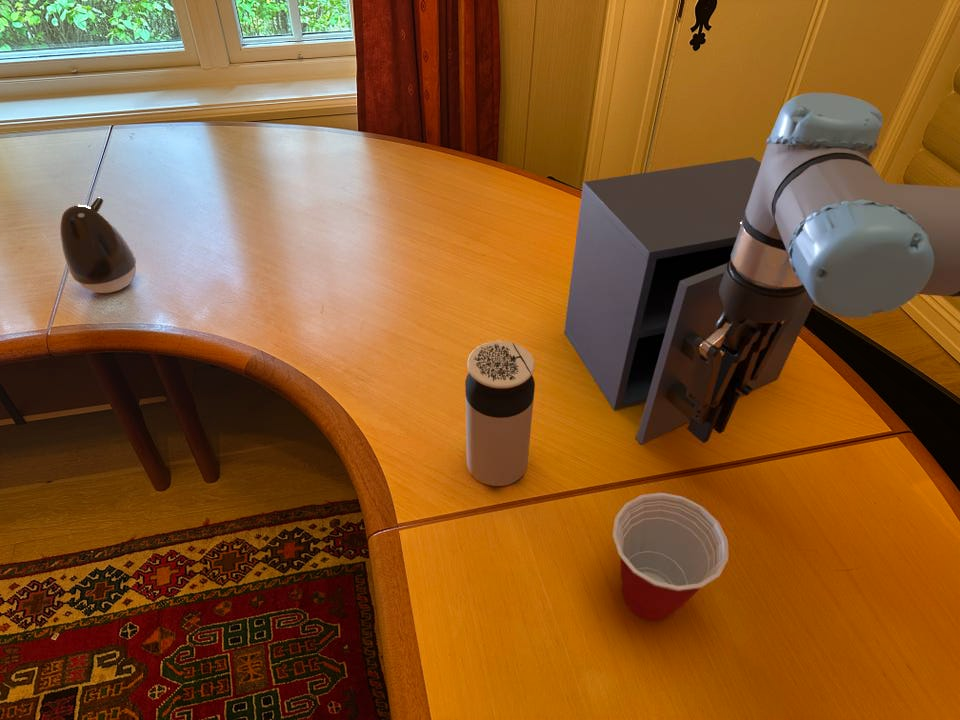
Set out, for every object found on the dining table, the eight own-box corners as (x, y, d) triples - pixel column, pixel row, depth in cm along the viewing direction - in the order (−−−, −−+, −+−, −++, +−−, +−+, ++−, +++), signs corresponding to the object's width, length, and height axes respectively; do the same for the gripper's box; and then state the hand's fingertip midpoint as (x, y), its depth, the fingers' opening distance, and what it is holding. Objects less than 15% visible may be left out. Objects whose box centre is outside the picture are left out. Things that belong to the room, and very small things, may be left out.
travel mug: (472, 492, 76) (472, 392, 64) (461, 443, 82) (459, 343, 69) (534, 482, 77) (545, 382, 65) (519, 435, 83) (526, 334, 70)
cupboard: (771, 372, 92) (842, 217, 74) (613, 410, 86) (649, 252, 68) (705, 303, 104) (752, 156, 87) (563, 332, 99) (583, 181, 81)
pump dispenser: (156, 272, 111) (123, 196, 101) (117, 305, 103) (77, 227, 93) (110, 263, 113) (73, 188, 103) (68, 295, 106) (23, 218, 95)
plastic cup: (639, 532, 72) (660, 470, 64) (718, 599, 66) (752, 541, 58) (576, 588, 67) (590, 529, 58) (655, 667, 61) (683, 613, 52)
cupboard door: (811, 403, 87) (897, 247, 69) (672, 476, 77) (730, 317, 60) (771, 373, 92) (842, 219, 74) (635, 438, 82) (679, 280, 64)
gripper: (787, 229, 63) (723, 387, 79) (683, 273, 57) (637, 435, 73) (853, 263, 58) (771, 424, 74) (748, 316, 52) (684, 479, 68)
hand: (705, 429), depth 73 cm, fingers closed on cupboard door, 2 cm apart
